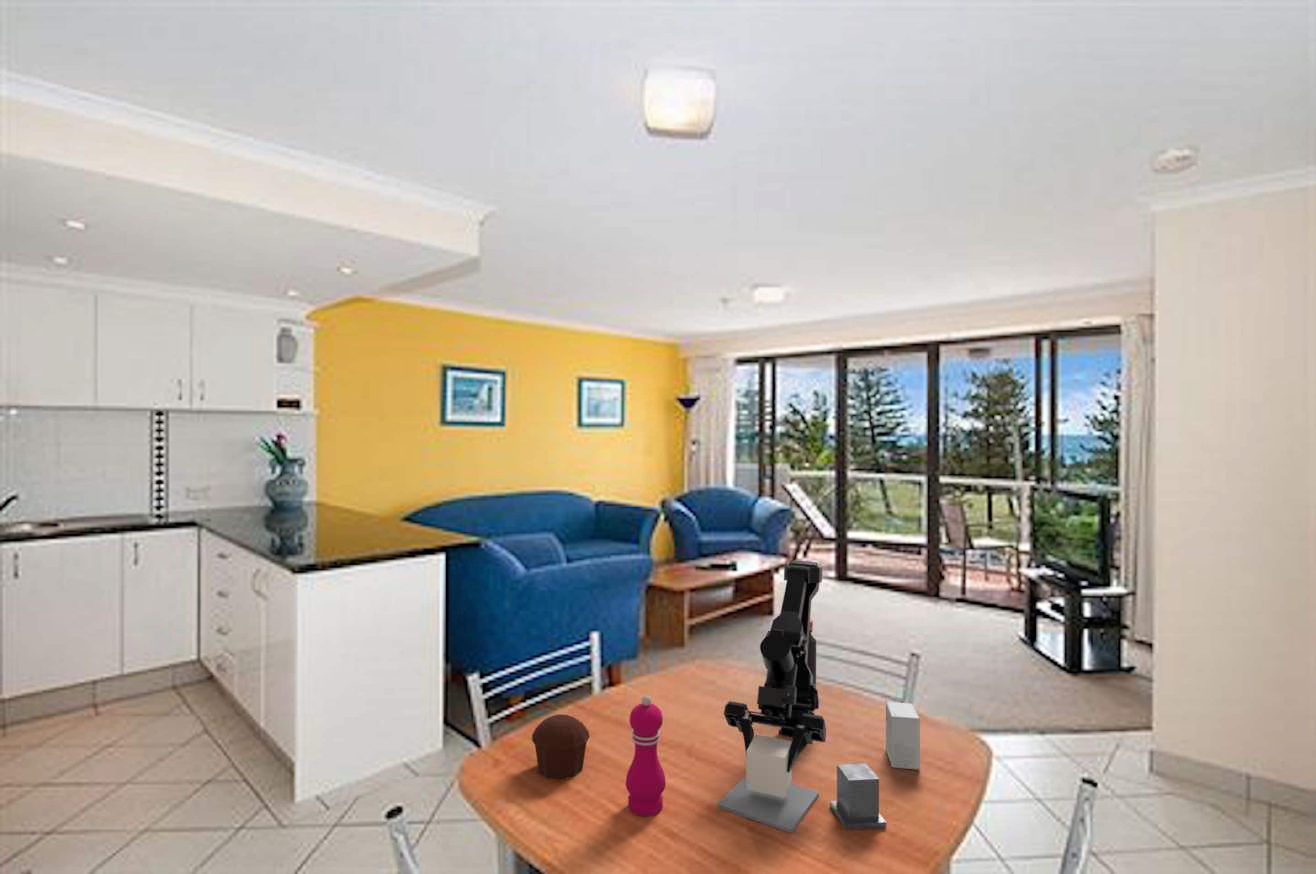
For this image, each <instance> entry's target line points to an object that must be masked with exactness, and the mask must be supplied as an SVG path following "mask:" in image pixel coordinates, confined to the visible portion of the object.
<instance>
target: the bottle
mask: <svg viewBox="0 0 1316 874" xmlns="http://www.w3.org/2000/svg"><path fill="white" fill-rule="evenodd" d="M813 622H814V620H812V619H811V618H810V628H809V643H808V658H807V665H808V667H809V669H810V671H811V673H812V675H813V683H815V686H816V687H817V639H816V638H815V637H814V636H813V634H812V632H813V628H814V625H813V624H814V623H813Z"/></svg>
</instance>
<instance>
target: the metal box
mask: <svg viewBox="0 0 1316 874" xmlns="http://www.w3.org/2000/svg"><path fill="white" fill-rule="evenodd" d="M829 807H830V809H831V810H832V812H833V813H834V815H835V816H836V817H837V819H838V821H839V823H840V824H841V825H842V827H843V828H844V829H845V830H844V831H858V830H859V831H860V830H861V831H862V830H875V829H886V828H887V821H886V820H885V819H884V818H883V816H882V815H881V814H880V778H879V776H878V775H876V773H875V772H874V771H873V770H872V769H871V767H869V765H868V764H867V762H866V763H864V762H863V763H850V764H849V763H848V764H847V763H845V764H842V763H841V764H836V800H830V801H829Z"/></svg>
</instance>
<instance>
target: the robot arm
mask: <svg viewBox="0 0 1316 874" xmlns="http://www.w3.org/2000/svg"><path fill="white" fill-rule="evenodd" d="M818 565H819V564H818V562H817V561H807V560H806V561H803V560H791V562H790V563H788V564H784V565H783V567H784V568H783V569H784V570H783V580H784V581H786V584H785V588H784V594H783V599H782V604H781V607H780V608H781V609H780V614H778V616H776V617H775V618H774V619H772V623H771V626H770V630H767V633H766V635H765V636H764V638H763V639H762V641H761V642H760V645H759V649H760V654H761V657H762V660H763V663H764V667H765V669H766V676H765V682H764V684H763V686H760V685H759V686H758V689H757V700H756V704H757V708H758V709H759V710H760V712H757V711H752V710H751V711H750V710H749V708H748V705H747V703H743V702H742V703H741V702H736V701H730V700H729V701H727V703H726V704H725V706H724V711H723V715H724V718H725V721H726V723H727V724H728V726H730V727H733V728H737V730H738V732H740V733H742V737H743V741H744V749H745V750H744V751H745V754H746V753H747V749H748V747H749V745H750V743H751V742H752V740H753V738H754V736H755V731H754V728H753V724H761V725H765V726H771V727H777V728H778V727H779V728H780V729H778V734H779V735H784V736H788V737H790V738H791V737H792V740H791V741H792V744H791V749H790V753H789V757H788V765H787V772H788V773H790V771H791V769H792V770H793V768H794V765H795V764H796V761H798V758H799V756H800V754H801V753H802V752H803V751H804V750H805V748H806V747H807V745H813V743H814V741H815V742H818V743H819V742H820V743H824V742H826V738H827V737H826V736H827V726H826V721H825V718H824V717H823V715H818V714H815V713H814V712H815V710H818V709H819V708H820V706H819V705H820V698H819V690H818V689H817V685H816V686H815V683H813V675H812V673H811V671H810V669H809V667H808V665H807V658H808V643H809V628H810V619H811V609H812V601H813V599H814V597H815V596H816V595H817V593H818V592H819V591H820V584H821V583H822V582H823V567H822V566H818Z"/></svg>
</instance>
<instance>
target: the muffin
mask: <svg viewBox="0 0 1316 874" xmlns="http://www.w3.org/2000/svg"><path fill="white" fill-rule="evenodd" d="M590 737H591V736H590V732H589V730H588V729H587V727H586V725H585V724H584V722H582V721H580V719H578V718H576V717H574V716H572V715H569V714H555V715H551V716H549V717H547V718H544V719H543V720H542V721H541V722H540V723H539V724H538V725H537V726H536V727H535V729H534V731H533V732H532V734H531V740H532V743H533V744H534V748H535V755H536V761H537V767H538V774H540V775H542V776H544V777H545V778H546V779H552V780H559V781H561V780H565V779H570V778H574V777H576V776H577V775H578V774H579V773H581V772H582V771H583V767H584V760H585V754H586V748H587V742H588V740H589V738H590Z"/></svg>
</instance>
